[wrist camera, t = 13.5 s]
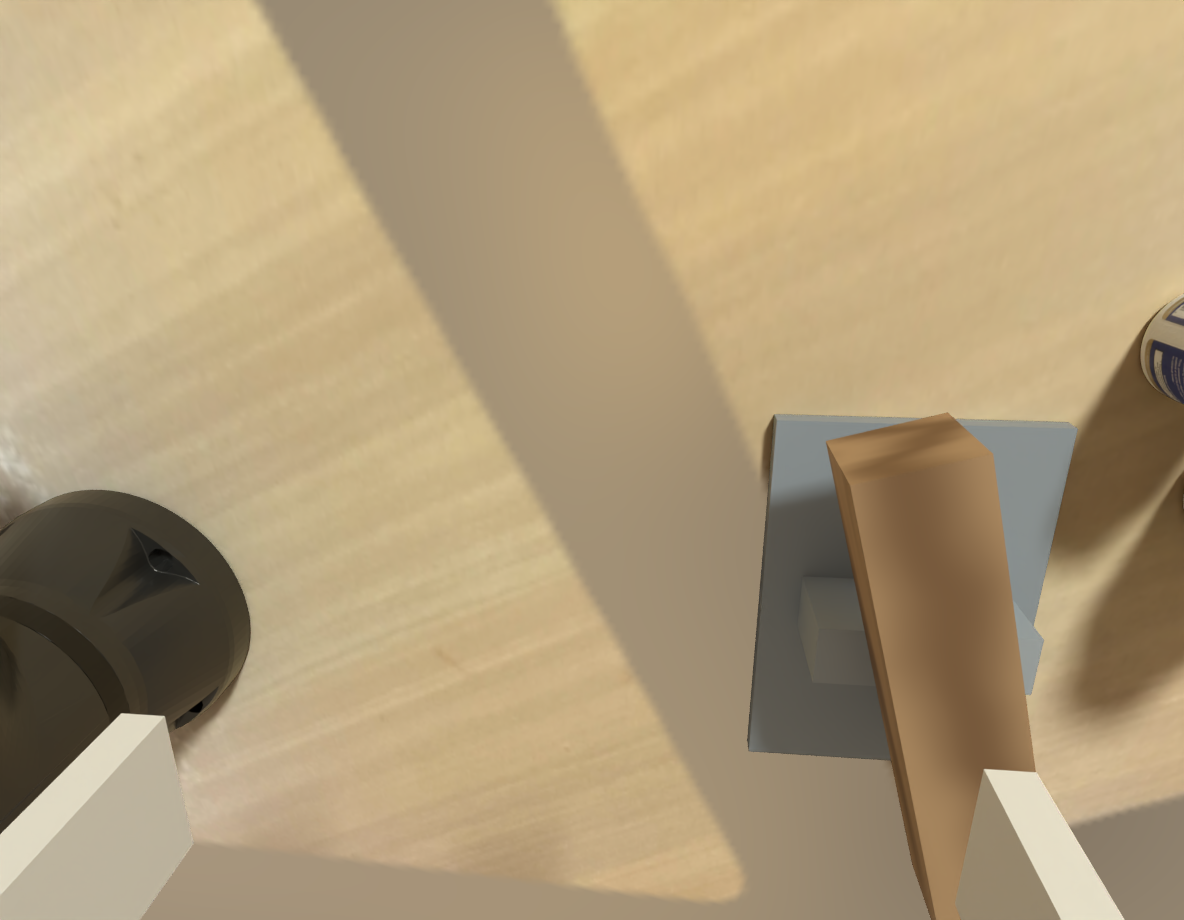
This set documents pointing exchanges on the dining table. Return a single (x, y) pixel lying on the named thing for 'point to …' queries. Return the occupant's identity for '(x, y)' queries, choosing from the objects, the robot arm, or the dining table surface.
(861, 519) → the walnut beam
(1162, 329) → the pill bottle
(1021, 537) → the fulcrum
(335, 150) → the dining table surface
